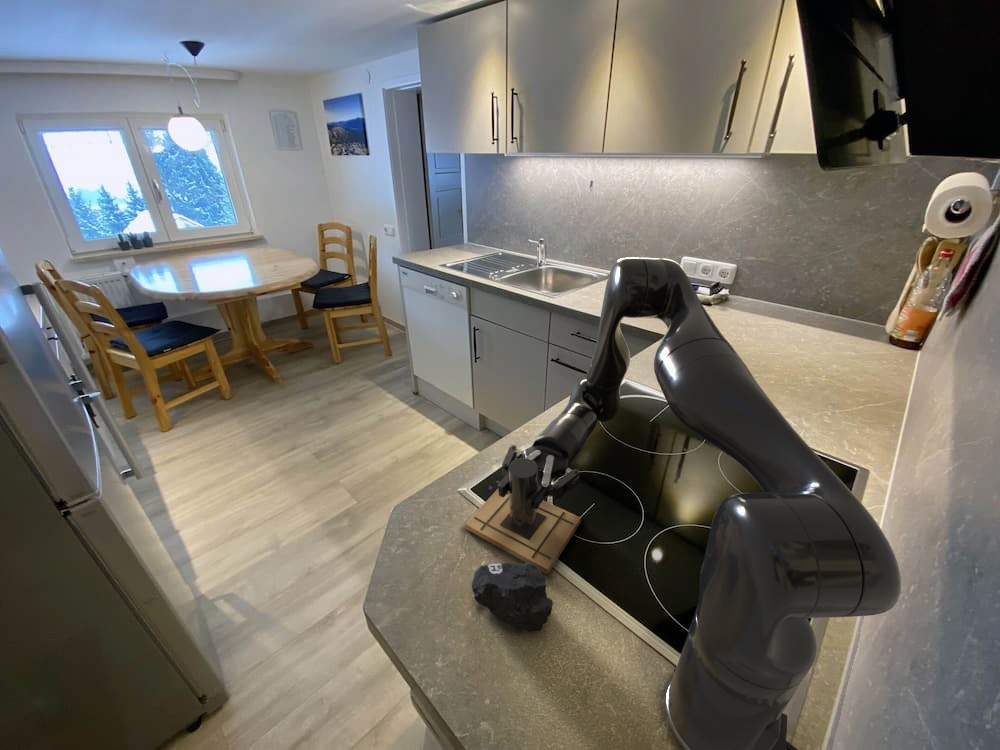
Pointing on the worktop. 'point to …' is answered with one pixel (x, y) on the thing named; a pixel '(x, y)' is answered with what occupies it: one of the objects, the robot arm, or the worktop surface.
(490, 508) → the board
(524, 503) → the tall black cylinder
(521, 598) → the mineral
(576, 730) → the worktop surface
